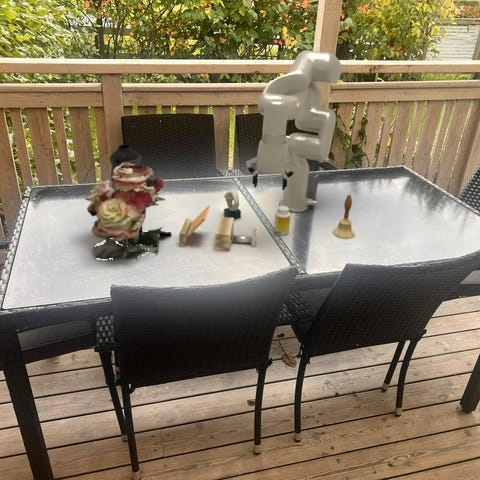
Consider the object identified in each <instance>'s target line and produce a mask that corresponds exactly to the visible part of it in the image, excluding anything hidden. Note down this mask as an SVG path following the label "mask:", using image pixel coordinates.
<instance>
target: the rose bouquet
mask: <svg viewBox="0 0 480 480" xmlns="http://www.w3.org/2000/svg"><path fill="white" fill-rule="evenodd" d="M113 172H114V173H115V174H114V176H112V178H113V179H114V181H113V182H111V180H109V179H106V180H104V181H100V182H99V183H97V184H95V185H93V186H91V190H89V193H90V196H88V197H85V198H84V200H86V201H89V202H90V204H89V205H88V207H87V208H86V210H87V212H88V213H89V214H90V216H91V217H95V216H96V218H97V220H95V221H93V222H91V224H93V225H92V227H91V233H92V234H93V235H94V237H97V238H100V239H104V240H105V239H106V242H105V243H104V244H103V245H100V246H96V247H94V246H93V248H92V249H91V253H92V255H93V256H94V258H95V259H96V258H100V259H108V260H107V261H106V260H105V261H104V262H113V261H121V260H134V258H135V259H138V258H139V257H142V256H141V255H142V254H145V253H146V252H150V254H153V253H154V254H156V255H155V256H158V255H159V248H160V236H161V235H160V234H163V235H166V234H167V235H172V232H170V231H164V230H163V231H162V228H163V226H161V227H159V228H156V229H149V231H148V232H143V231H142V230H144V229H143V224H144V222H145V219H146V217H147V208H150V207H151V206H153V207H154V206H155V207H156V206H158V205H159V203H157V202H159V201H162V202H163V201H166V198H165V197H161V196H160V195H159V193H158V192H160V191H161V190H163V188H165V187H166V184H165V182H164V180H163V178H162V177H157V178H154V179H153V178H152V177H153V176H154V171H153V169H152V168H151V167H148V166H143V165H141V164H140V165H135V164H130V163H122V164H121V165H120V166H117V167H115V169H114V170H113ZM112 186H113V187H114V188H115V190H114V189H113V187H112ZM173 199H174V196H173ZM110 238H113V239H110ZM115 241H119V242H122V241H124V243H123V245H124V246H121V245H119V244H116V242H115ZM127 242H129V243H127ZM128 244H129V245H128ZM130 244H131V245H130ZM139 244H142V245H143V246H144V245H145V246H144V247H143V246H142V247H141V246H140V245H139ZM127 246H129V247H127ZM138 246H139V247H138ZM140 247H141V248H140ZM145 247H148V248H149V251H148V249H146V250H145V249H144V248H145ZM142 248H143V249H142ZM146 254H147V253H146ZM139 255H140V256H139ZM138 256H139V257H138ZM137 257H138V258H137ZM109 258H113V260H112V259H111V261H110V260H109Z"/></svg>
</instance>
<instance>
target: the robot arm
mask: <svg viewBox="0 0 480 480" xmlns="http://www.w3.org/2000/svg"><path fill="white" fill-rule="evenodd" d="M341 75H342V63H341V61H340V59H338V57H337V56H336V55H334V53H331V52H328V51H318V50H303V51H301V52H299V53H298V55H297V56H296V58H295V59H294V61H293V63H292V65H291V66H290V68H289V70H288V72H287V73H284V74H283V75H281V76H278V77H276V78H275V79H272V80H271V81H269V82H268V83H267V84H266V86H265V87H264V89H263V91H262V93H261V94H260V96H259V99H258V101H257V102H258V103H257V110H258V113H259V114H261V116H263V121H262V122H263V123H262V136H261V139H260V141H259V143H258V149H257V154H256V157H254V158H251V159H248V160H246V162H245V165H246V168H247V170H248V171H249V173H250V174H251V175H252V185H253V188H257V187H258V178H259V174H258V173H259V172H262V173H269V174H270V173H271V174H280V175H281V176H282V177H283V178H282V183H281V184H282V186H281V190H282V191H283V196H282V199H280V200H279V203H278V207H279V206H286V207H288V208H289V213H301V212H303V213H304V212H305V211H308V209H309V206H310V205H311V206H316V205H317V200H314V198H308V197H307V192H308V181H309V176H310V175H309V174H310V166H309V162H308V161H307V160H311V161H317V162H318V161H319V162H323V161H326V160H327V159H328V157H329V154H330V150H331V146H332V141H333V137H334V132H335V127H336V123H337V122H336V119H337V117H336V116H337V115H336V113H335V111H334V110H333V109H331V108H325V107H320V106H321V101H322V97H323V96H322V91H321V89H320V87H319V85H318V84H317V83H324V84H325V83H326V84H335V83H337V82H338V81H339V79H340V78H341ZM296 94H299V97H296V96H294V95H296ZM293 120H294V125H295V127H296V128H297V129H298V130H302V131H306V132H313V133H319V134H320V135H315V134H310V133H303V132H294V133H291V134H289V136H288V135H287V134H286V132H287V123H288V121H293ZM254 163H255V169H254V167H253V166H252V164H254Z"/></svg>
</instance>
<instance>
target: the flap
mask: <svg viewBox="0 0 480 480" xmlns="http://www.w3.org/2000/svg"><path fill="white" fill-rule="evenodd" d="M210 209H211V205H207V206H206V207H205V208H204V209H203V210H202V211H201V212H200V214H198V215H197V216H196V218H195V219H194V220H191V225H190V228H189V230H188V233H187V235H186V237H187V238H188V237H189V238H190V236H191V235H193V234H192V233H194V232H195V231H196V230H197V229H198V228H199V227H200V226H201V225H202V224H203V223H204V222H205V221H206V219H207V217H208V214H209V212H210ZM189 238H188V239H189Z"/></svg>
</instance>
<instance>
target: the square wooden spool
mask: <svg viewBox="0 0 480 480" xmlns="http://www.w3.org/2000/svg"><path fill="white" fill-rule="evenodd" d="M234 221H235V219H234V218H229V217H225V216H220V218H219V221H218V224H217V227H216V230H215V231H216V232H215V235H214V236H215V240H214V241H215V242H214V243H215V244H214V250H215V251H220V252H222V251H223V252H230V250H231V244H232V240H233V235H234V226H235V225H234V223H235V222H234ZM191 223H192V219H191V218H186V219H185V221H184V222H183V224H182V227H181V229H180V231H179V247H186V245H187V244H188V240H189V238H190V236H189V237H188V238H187V237H186V235H187V233H188V230H189V228H190V225H191Z"/></svg>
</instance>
